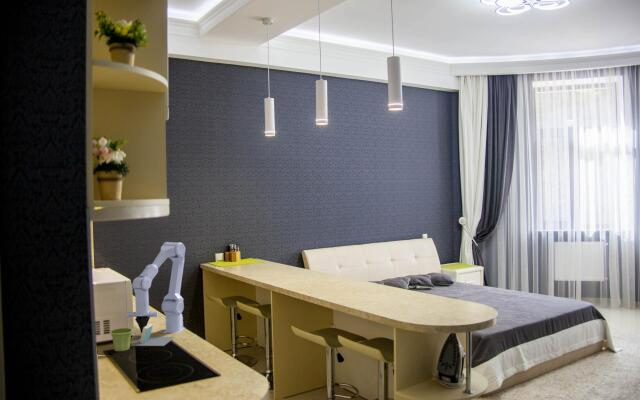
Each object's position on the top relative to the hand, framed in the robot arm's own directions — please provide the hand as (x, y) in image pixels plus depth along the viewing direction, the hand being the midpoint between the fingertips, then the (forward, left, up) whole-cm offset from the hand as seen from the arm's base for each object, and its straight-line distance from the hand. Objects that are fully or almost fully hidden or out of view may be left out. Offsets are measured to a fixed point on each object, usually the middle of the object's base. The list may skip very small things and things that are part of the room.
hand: (143, 332), depth 250 cm
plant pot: (+12, -5, -5) cm, 14 cm away
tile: (0, +1, -4) cm, 4 cm away
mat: (0, +4, -5) cm, 6 cm away
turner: (-8, -4, -5) cm, 10 cm away
